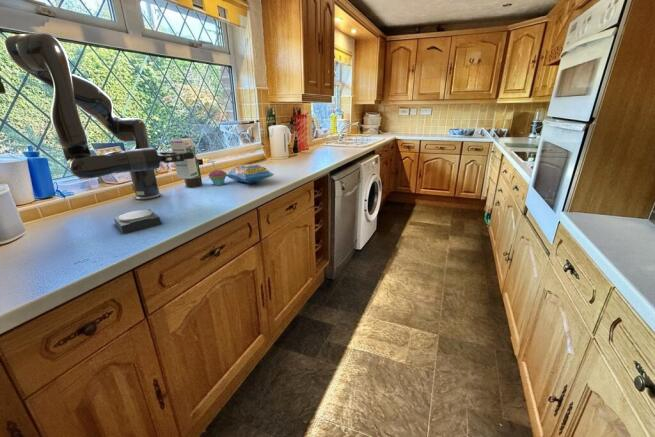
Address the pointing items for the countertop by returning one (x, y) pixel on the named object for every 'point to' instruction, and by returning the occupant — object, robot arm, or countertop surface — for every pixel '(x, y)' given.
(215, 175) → the cupcake
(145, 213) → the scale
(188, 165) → the syrup box
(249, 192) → the countertop surface
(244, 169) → the packet
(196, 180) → the beer bottle
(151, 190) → the robot arm
